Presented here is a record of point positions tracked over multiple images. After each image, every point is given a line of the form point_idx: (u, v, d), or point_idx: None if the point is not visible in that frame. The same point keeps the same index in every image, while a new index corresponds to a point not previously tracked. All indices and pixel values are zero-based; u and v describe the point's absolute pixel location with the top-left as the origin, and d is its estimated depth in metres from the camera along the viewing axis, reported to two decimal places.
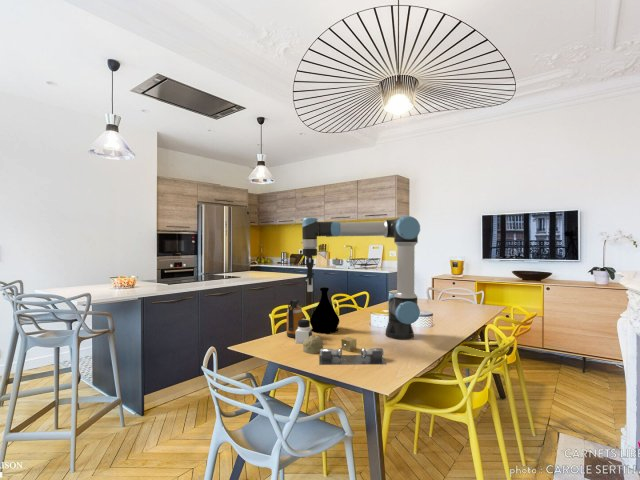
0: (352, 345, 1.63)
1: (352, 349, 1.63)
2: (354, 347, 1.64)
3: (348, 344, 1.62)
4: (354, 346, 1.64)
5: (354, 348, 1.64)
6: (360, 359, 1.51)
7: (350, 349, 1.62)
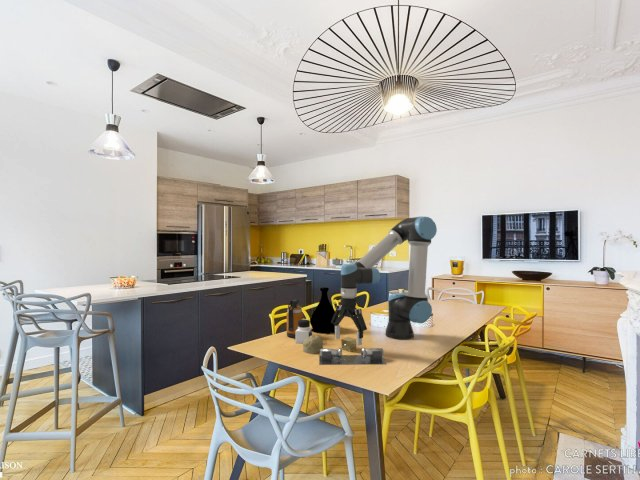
0: (352, 345, 1.63)
1: (352, 349, 1.63)
2: (354, 347, 1.64)
3: (348, 344, 1.62)
4: (354, 346, 1.64)
5: (354, 348, 1.64)
6: (360, 359, 1.51)
7: (350, 349, 1.62)
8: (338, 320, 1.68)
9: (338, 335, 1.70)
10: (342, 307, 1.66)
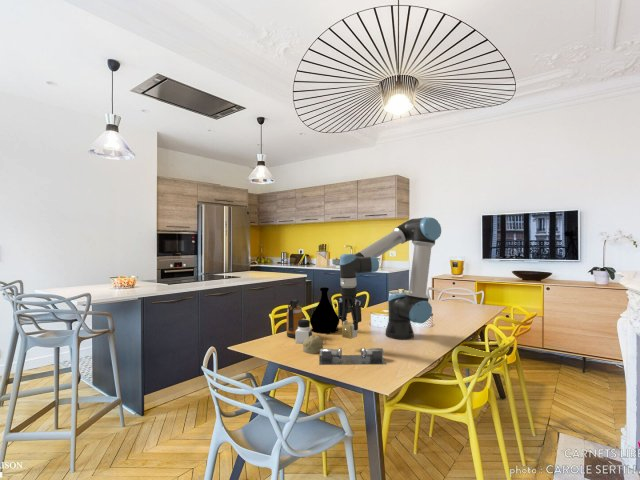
0: None
1: None
2: None
3: (349, 329, 1.62)
4: None
5: None
6: (360, 359, 1.51)
7: (351, 334, 1.62)
8: (343, 313, 1.66)
9: None
10: (342, 297, 1.67)
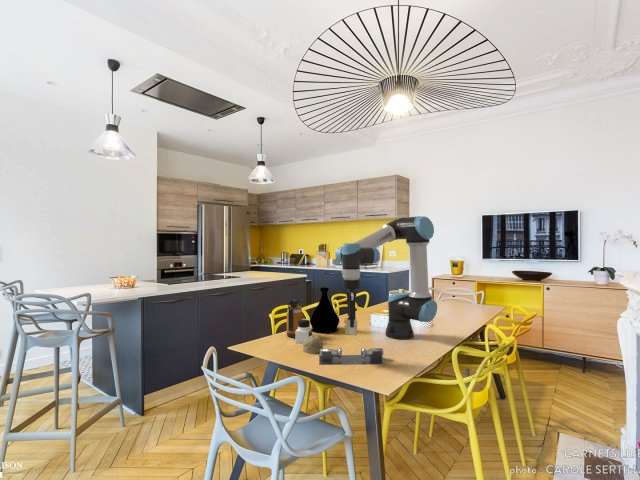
0: None
1: None
2: None
3: (345, 324, 1.49)
4: None
5: None
6: (360, 359, 1.51)
7: (346, 330, 1.48)
8: (347, 307, 1.53)
9: None
10: None
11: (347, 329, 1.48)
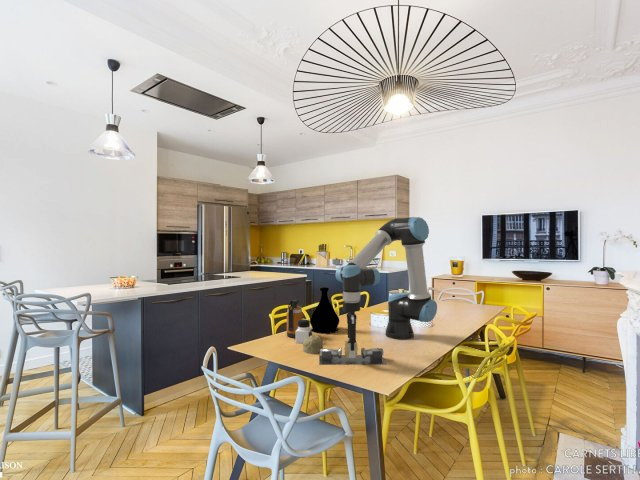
0: None
1: None
2: None
3: (345, 347, 1.48)
4: None
5: None
6: (360, 359, 1.51)
7: (347, 353, 1.48)
8: (348, 329, 1.53)
9: None
10: (348, 311, 1.53)
11: (347, 352, 1.48)
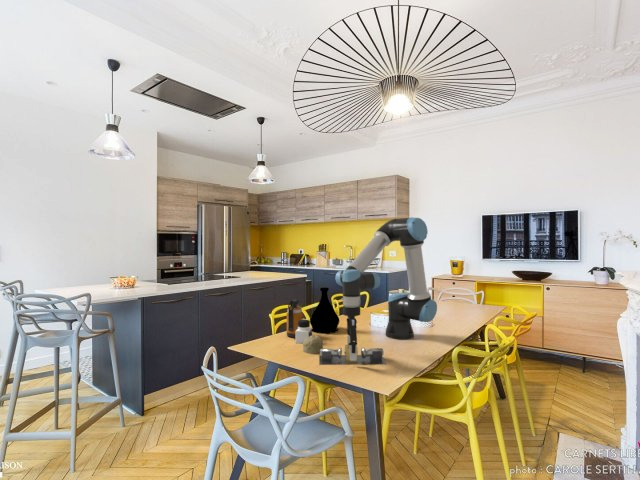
0: None
1: None
2: None
3: (345, 351, 1.48)
4: None
5: None
6: (360, 359, 1.51)
7: (347, 357, 1.48)
8: (347, 329, 1.55)
9: None
10: (348, 316, 1.53)
11: (347, 356, 1.48)
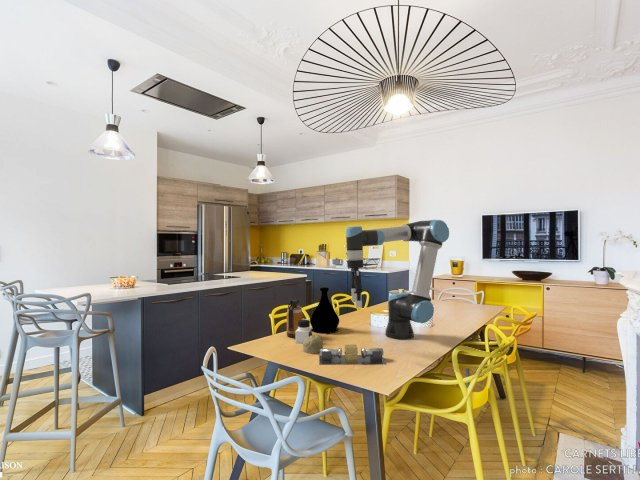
0: (350, 353, 1.48)
1: (350, 358, 1.48)
2: (354, 356, 1.48)
3: (345, 351, 1.48)
4: (354, 355, 1.48)
5: (354, 357, 1.48)
6: (360, 359, 1.51)
7: (347, 357, 1.48)
8: (351, 283, 1.69)
9: (355, 298, 1.70)
10: (352, 270, 1.66)
11: (347, 356, 1.48)
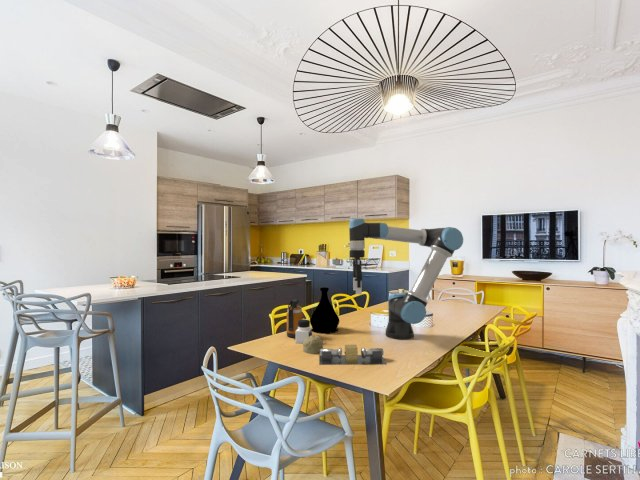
0: (350, 353, 1.48)
1: (350, 358, 1.48)
2: (354, 356, 1.48)
3: (345, 351, 1.48)
4: (354, 355, 1.48)
5: (354, 357, 1.48)
6: (360, 359, 1.51)
7: (347, 357, 1.48)
8: (353, 272, 1.79)
9: None
10: (354, 259, 1.77)
11: (347, 356, 1.48)
